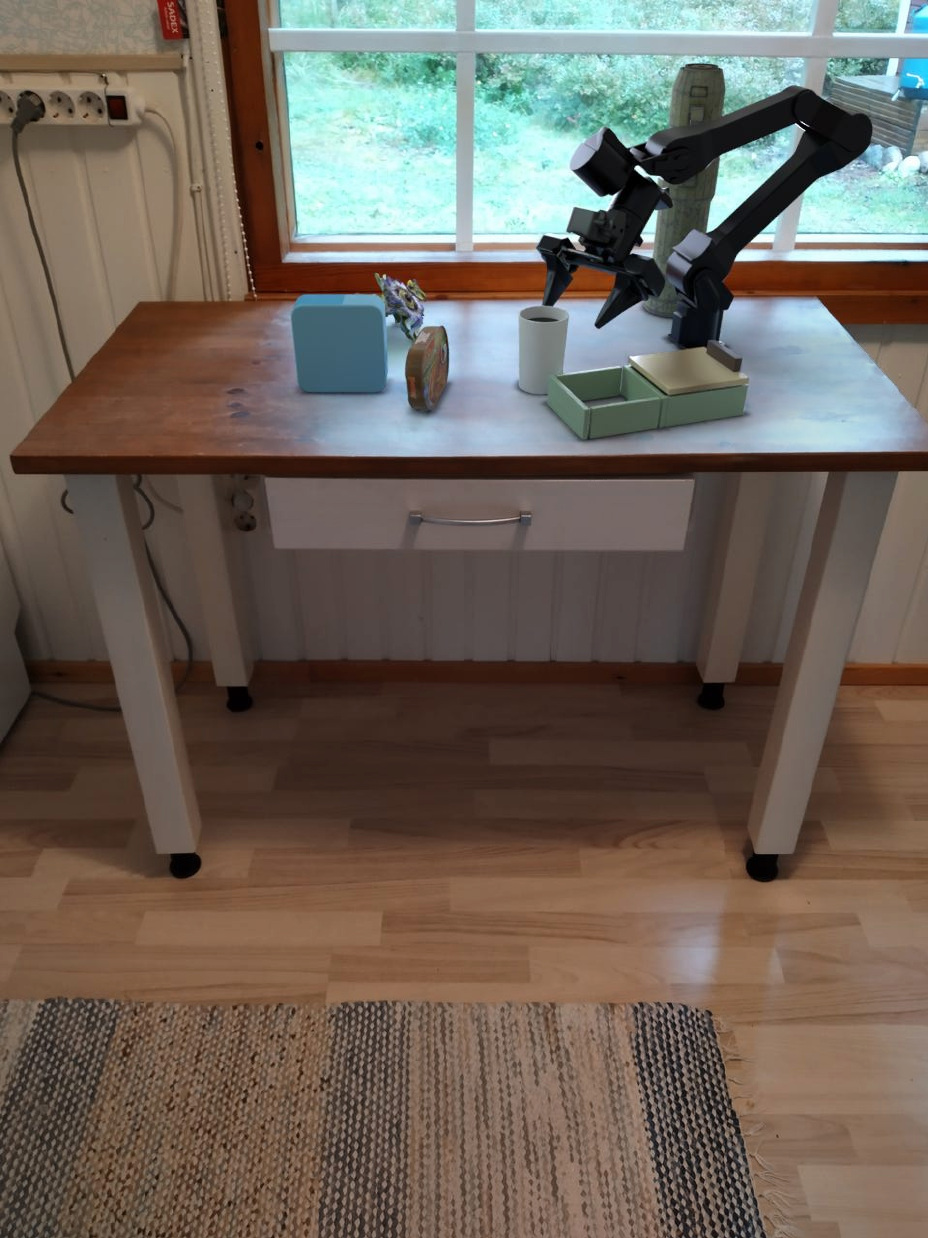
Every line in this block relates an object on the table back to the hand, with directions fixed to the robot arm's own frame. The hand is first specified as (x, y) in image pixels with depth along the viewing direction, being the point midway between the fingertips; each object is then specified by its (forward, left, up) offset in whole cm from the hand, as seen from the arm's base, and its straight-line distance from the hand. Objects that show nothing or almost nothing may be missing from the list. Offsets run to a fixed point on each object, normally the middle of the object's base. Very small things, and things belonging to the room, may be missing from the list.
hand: (569, 319), depth 135 cm
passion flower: (+20, -22, -8) cm, 31 cm away
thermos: (-27, -20, -8) cm, 35 cm away
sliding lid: (-11, +14, -4) cm, 18 cm away
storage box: (-5, +14, -8) cm, 17 cm away
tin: (+21, +1, -8) cm, 22 cm away
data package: (+31, -6, -8) cm, 32 cm away
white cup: (+5, +2, -8) cm, 10 cm away
